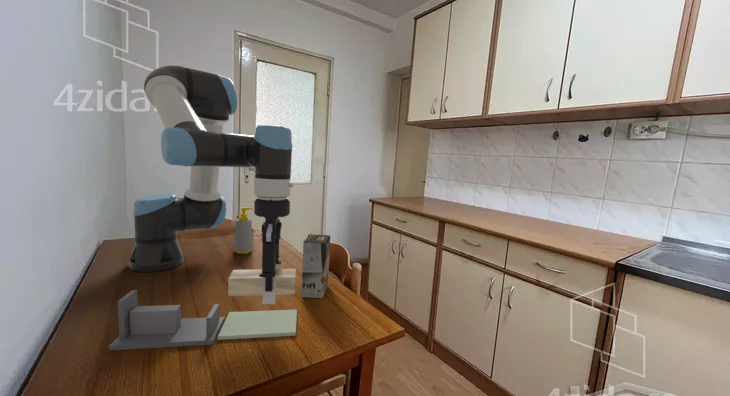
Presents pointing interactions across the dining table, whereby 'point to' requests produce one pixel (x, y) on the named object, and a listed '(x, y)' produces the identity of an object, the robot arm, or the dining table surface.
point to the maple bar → (260, 282)
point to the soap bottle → (243, 233)
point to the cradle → (162, 326)
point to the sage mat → (259, 324)
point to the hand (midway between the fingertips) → (270, 297)
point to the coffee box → (315, 266)
